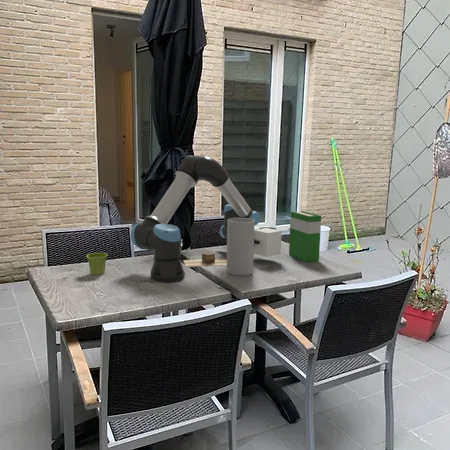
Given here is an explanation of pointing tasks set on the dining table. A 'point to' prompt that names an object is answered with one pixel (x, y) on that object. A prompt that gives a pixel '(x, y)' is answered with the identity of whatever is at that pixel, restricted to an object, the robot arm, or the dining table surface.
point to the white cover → (268, 242)
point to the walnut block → (208, 257)
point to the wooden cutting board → (199, 263)
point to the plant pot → (97, 263)
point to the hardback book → (305, 236)
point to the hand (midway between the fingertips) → (272, 242)
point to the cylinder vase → (240, 246)
